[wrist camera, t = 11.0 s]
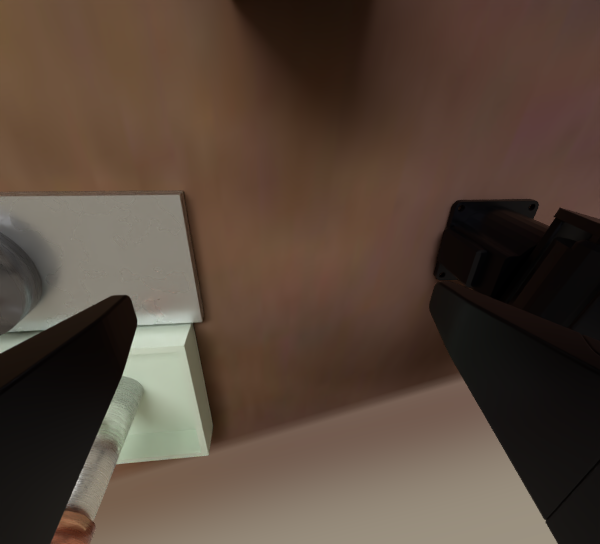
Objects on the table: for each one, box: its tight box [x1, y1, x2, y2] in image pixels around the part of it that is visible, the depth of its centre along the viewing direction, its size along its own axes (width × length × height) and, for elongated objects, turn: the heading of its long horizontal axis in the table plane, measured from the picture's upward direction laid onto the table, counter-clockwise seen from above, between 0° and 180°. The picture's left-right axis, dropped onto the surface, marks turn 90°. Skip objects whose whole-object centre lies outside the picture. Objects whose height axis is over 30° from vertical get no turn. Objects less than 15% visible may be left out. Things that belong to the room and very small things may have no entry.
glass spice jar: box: [51, 376, 144, 544], centre depth 22 cm, size 4×4×12 cm
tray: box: [0, 323, 213, 464], centre depth 26 cm, size 14×14×3 cm
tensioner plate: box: [0, 191, 204, 335], centre depth 19 cm, size 18×10×5 cm, turn 89°
